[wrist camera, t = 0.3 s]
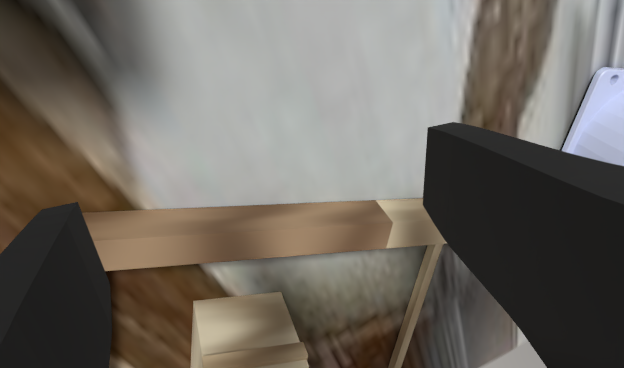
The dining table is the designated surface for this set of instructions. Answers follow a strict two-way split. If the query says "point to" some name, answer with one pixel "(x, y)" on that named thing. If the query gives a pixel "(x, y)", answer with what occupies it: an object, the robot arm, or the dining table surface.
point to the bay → (270, 238)
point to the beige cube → (245, 333)
